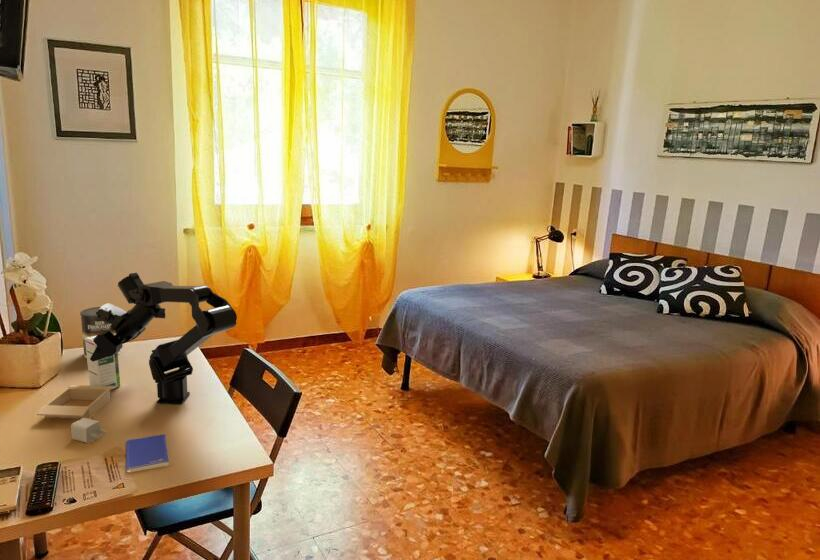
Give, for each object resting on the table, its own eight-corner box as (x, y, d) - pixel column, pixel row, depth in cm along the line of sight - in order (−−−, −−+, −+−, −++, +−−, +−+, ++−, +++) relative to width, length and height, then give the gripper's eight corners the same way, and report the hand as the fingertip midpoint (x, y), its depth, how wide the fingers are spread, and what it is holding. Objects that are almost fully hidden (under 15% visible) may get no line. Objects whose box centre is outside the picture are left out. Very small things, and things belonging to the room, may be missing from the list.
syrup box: (99, 393, 151) (95, 342, 148) (88, 387, 154) (84, 336, 151) (120, 386, 155) (117, 337, 152) (110, 380, 159) (106, 331, 155)
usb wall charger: (87, 432, 131) (85, 416, 130) (110, 438, 129) (109, 422, 128) (72, 440, 128) (70, 424, 127) (95, 446, 126) (94, 430, 125)
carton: (115, 394, 151) (115, 383, 150) (83, 424, 135) (82, 412, 134) (75, 393, 150) (74, 382, 149) (37, 423, 134) (36, 410, 133)
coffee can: (121, 357, 176) (118, 314, 172) (83, 361, 171) (79, 317, 168) (120, 346, 184) (117, 305, 181) (84, 350, 180) (80, 307, 176)
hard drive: (168, 460, 120) (165, 433, 131) (125, 468, 116) (125, 440, 127) (169, 467, 120) (165, 439, 131) (126, 475, 117) (126, 446, 127)
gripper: (131, 286, 158) (94, 322, 160) (98, 305, 140) (56, 345, 142) (161, 314, 160) (124, 349, 162) (132, 336, 142) (91, 375, 144)
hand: (100, 353), depth 153 cm, fingers open, 9 cm apart
